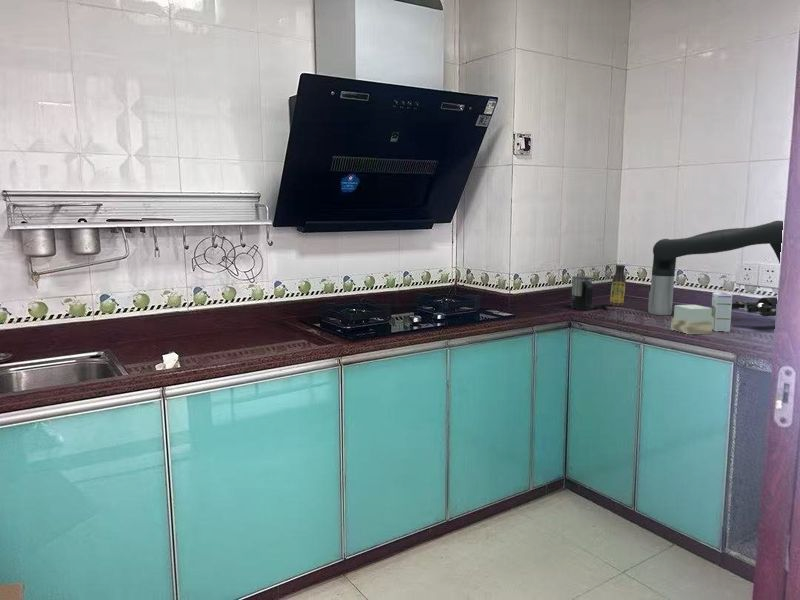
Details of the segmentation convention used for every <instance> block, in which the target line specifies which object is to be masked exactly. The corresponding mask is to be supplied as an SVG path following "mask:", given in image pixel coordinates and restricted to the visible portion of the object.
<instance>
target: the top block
mask: <svg viewBox="0 0 800 600" xmlns="http://www.w3.org/2000/svg"><path fill="white" fill-rule="evenodd" d="M673 309H674V312H673V318H675V319H679V320H683V321H686V322H711V313H712V307H708V306H703V305H699V304H677V305H676V304H675V305H674V308H673Z"/></svg>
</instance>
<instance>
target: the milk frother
mask: <svg viewBox="0 0 800 600" xmlns="http://www.w3.org/2000/svg"><path fill="white" fill-rule="evenodd" d="M592 280H593V277H592V276H583V275H578V276H577V275H574V276H572V279H571V282H572V283H571V284H572V285H571V302H570V308H571V309H574V308H576V309H575V310H590V309H589V308H591V309H592V308H595V307H597V308H601V309H602V308H603V309H606V307H609V306H611V305H610V302H602V303H597V304H594V305H592V304H593V292H594V285H593V283H592V282H593V281H592Z"/></svg>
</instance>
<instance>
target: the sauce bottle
mask: <svg viewBox="0 0 800 600" xmlns="http://www.w3.org/2000/svg"><path fill="white" fill-rule="evenodd" d="M625 268H626V265H625V264H616V265H615V274H614V275H613V277H612V280H611V281H612V282H611V288H610V297H609V298H610V299H609V304H610V305H609V306H613V307H622V306H623V305H624V300H625V293H626V280H627V279H626V276H625Z"/></svg>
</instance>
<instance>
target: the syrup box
mask: <svg viewBox="0 0 800 600" xmlns="http://www.w3.org/2000/svg"><path fill="white" fill-rule="evenodd" d="M732 303H733V294H731V293H729V292H721V291H720V292H719V291H718V292H716V291H715V292H712V298H711V308H712V313H711V321H712V322H713V325H712V332H713V331H714V332H718V331H724V333H730V332H731V321H732V310H733V309H732Z"/></svg>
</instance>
